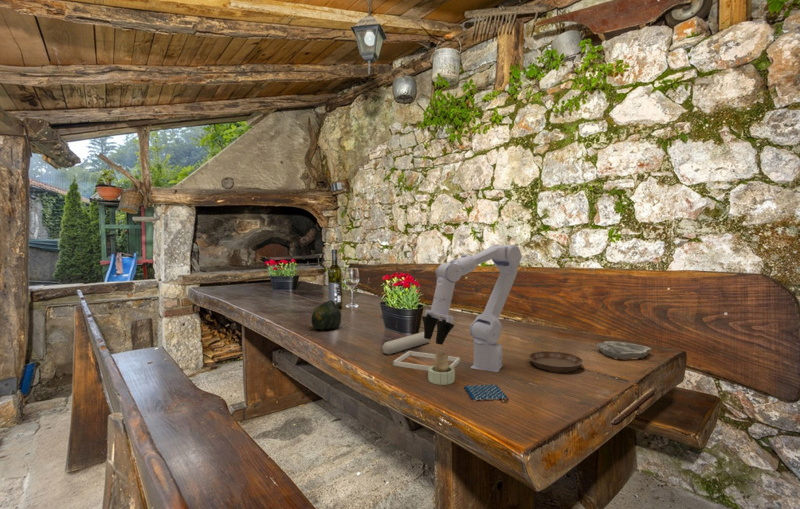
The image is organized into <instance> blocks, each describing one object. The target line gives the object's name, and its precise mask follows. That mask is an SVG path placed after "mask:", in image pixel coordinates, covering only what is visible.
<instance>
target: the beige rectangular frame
mask: <svg viewBox="0 0 800 509" xmlns="http://www.w3.org/2000/svg"><path fill="white" fill-rule="evenodd" d="M435 354H436V353H435ZM435 354H434V353H427V352H421V351H412V350H409V351H406V352H405V353H403V354H401V356H398V357H397V358H396V359H394V360H392V366H395V367H401V368H408V369H413V370H414V369H415V370H420V371H427V372H428V368H429V367H430V366H431V365H423V364H418V363H410V362H404V360H406V358H408V357H410V356H413V357H421V358H426V359H434V360H435ZM448 362H452V363H451V364H450V365H449V366H451V367H453V368H454V369H455V367H457V366H458V364H459V363H461V357H457V356H456V357H455V356H450V355H448Z"/></svg>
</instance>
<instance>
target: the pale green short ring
mask: <svg viewBox="0 0 800 509" xmlns="http://www.w3.org/2000/svg"><path fill="white" fill-rule="evenodd" d="M429 366H430V367H429V368H428V371H427V372H428V375H427V378H428V382H429V383H432V384H434V385H438V386H439V385H440V386H441V385H442V386H443V385H444V386H445V385H451V384H454V382H455V381H456V369H455V367H454V368H453V367H451V366H450V365H448V372H436V371H435V364H434V365H429Z"/></svg>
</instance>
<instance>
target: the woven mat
mask: <svg viewBox="0 0 800 509" xmlns="http://www.w3.org/2000/svg"><path fill="white" fill-rule="evenodd" d="M463 390H465V392H466V394H467V395H468V396H469V399H470V400H471V401H473V402H476V401H477V402H481V401H482V402H484V401H492V400H493V401H494V402H495V401H500V402H501V403H504V404H505V403H509V402H508V401H510V399H509V397H507V394H505V392H503V390H502V389H501V388H499V386H498V385H497V384H481V385H479V384H476V385H475V384H474V385H473V384H472V385H470V384H469V385H465V386H463Z"/></svg>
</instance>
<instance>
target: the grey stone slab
mask: <svg viewBox="0 0 800 509" xmlns="http://www.w3.org/2000/svg"><path fill="white" fill-rule="evenodd" d="M595 345H596V347H597V348H598V349H599V350H600V352H601V353H602V354H603V355H604V356H605V355H606V356H605V357H608V356H610V357H609V358H611V357H612V359H613V358H617V359H616V360H618V359H632V358H642V359H643V358H645V357H646V356H648V355H649V354H650V352H651V349H652V348H651V347H648V346H645V345H641V344H637V343H631V342H625V341H624V342H622V341H613V340H612V341H606V340H605V341H603V342H596V343H595ZM644 356H645V357H644Z"/></svg>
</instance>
